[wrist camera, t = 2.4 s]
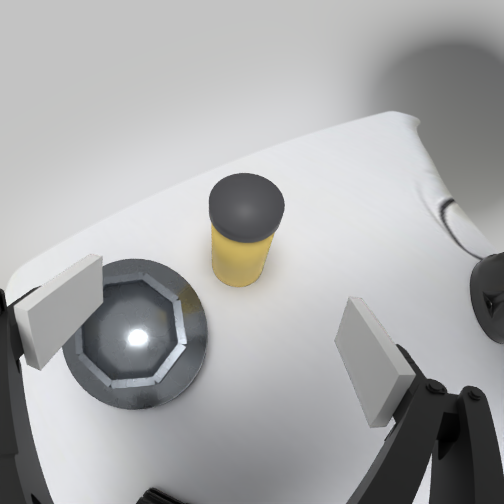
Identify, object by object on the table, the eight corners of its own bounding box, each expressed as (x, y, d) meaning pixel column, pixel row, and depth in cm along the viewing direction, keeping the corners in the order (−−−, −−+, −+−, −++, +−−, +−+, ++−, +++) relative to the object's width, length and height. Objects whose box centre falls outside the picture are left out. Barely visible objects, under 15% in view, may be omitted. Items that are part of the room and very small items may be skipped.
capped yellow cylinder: (230, 230, 38) (237, 163, 27) (274, 257, 37) (297, 196, 26) (199, 268, 35) (193, 207, 25) (245, 299, 34) (258, 247, 23)
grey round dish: (130, 246, 35) (122, 230, 32) (237, 322, 33) (239, 312, 29) (49, 343, 28) (33, 336, 25) (151, 438, 25) (143, 442, 22)
